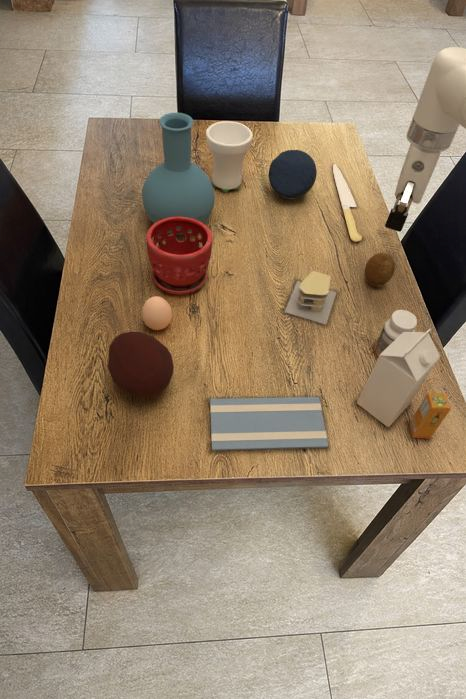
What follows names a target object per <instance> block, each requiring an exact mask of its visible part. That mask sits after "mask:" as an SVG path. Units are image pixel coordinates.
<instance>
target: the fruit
mask: <svg viewBox="0 0 466 699" xmlns="http://www.w3.org/2000/svg"><path fill="white" fill-rule="evenodd" d="M395 270H396V264H395V260H394V258H393V257H392V256H391V255H390V254H388V253H386V252H378V253H375V254H373V255H372V256H370V257H369V259H368V260H367V261H366V264H365V267H364V273H363V274H364V276H365V280H366V281H367V283H368V284H370V285H371V286H375V287H381V286H385V285H386V284H387V283H388V282H389V281H391V280H392V279H393V277H394V274H395Z"/></svg>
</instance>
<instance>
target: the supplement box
mask: <svg viewBox="0 0 466 699" xmlns="http://www.w3.org/2000/svg"><path fill="white" fill-rule="evenodd" d="M451 410H452V407H451V405H450V402H449V399H448V396H447V394H446V393H443V392H440V393H439V392H427V393H426V395H425V396H424V398H423V399H422V401H421V403H420V404H419V406H418V408H417V409H416V411H415V412H414V414H413V415H412V417H411V419H410V421H409V423H408V425H409V429H410V434H411V438H412V439H427V440H429V439H431V438H432V437H433V435H434V434H435V432H436V431H437V429H438V428H439V427H440V426H441V424H442V422H443V421H444V420H445V419H446V417H447V415H448V414H449V412H450V411H451Z"/></svg>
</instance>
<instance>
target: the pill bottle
mask: <svg viewBox="0 0 466 699" xmlns="http://www.w3.org/2000/svg"><path fill="white" fill-rule="evenodd" d="M417 325H418V319H417V316H416V315H415V314H413V313H412V312H411V311H409V310H406V309H397V310H395V311H393V313H392V314H391V316H390V318H389V319H387V320H386V321H385V323H384V325H383V327H382V330H381V332H380V334H379V335H378V336H379V337H378V338H377V340H376V343H375V346H374V350H375V353H376V354H377V356H378V357H379V355H380V354H381V353H382V352H383V351H384V350H385V349H386V348H387V347H388V346H389V345H390V344H391V343H392V342H393V341H394V340H396V339H397V338H398V337H399V336H400V335H401V334H402V333H403V332H416V326H417Z"/></svg>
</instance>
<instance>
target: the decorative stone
mask: <svg viewBox="0 0 466 699" xmlns="http://www.w3.org/2000/svg"><path fill="white" fill-rule="evenodd" d="M317 173H318V172H317V165H316V162H315V160H314V159H313V157H312V156H311V155H310V154H308V153H307V152H305V151H303V150H300V149H287V150H285V151H281V152H280V153H279V154H278V155H277V156H276V157H275V158H274V159H273V160H272V161H271V163H270V165H269V168H268V182H269V186H270V187H271V189H272V191H273V192H274V193H275V194H276V195H277V196H279V197H281V198H283V199H289V200H292V199H293V200H294V199H298V198H300V197H304V196H305V195H306V194H308V193H309V192H310V191H311V190H312V188H313V187H314V185H315V183H316V180H317V175H318V174H317Z"/></svg>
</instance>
